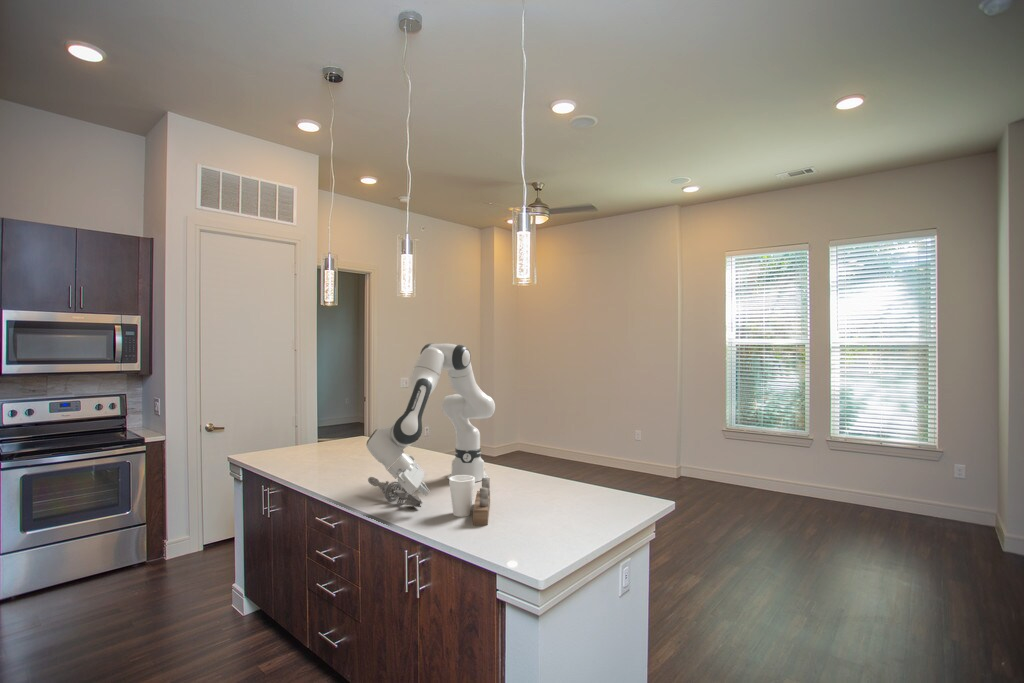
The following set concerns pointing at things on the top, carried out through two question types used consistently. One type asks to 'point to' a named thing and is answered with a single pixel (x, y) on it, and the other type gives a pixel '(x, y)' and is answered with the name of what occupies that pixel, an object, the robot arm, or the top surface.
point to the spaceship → (396, 492)
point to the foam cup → (462, 494)
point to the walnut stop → (482, 504)
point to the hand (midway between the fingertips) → (428, 493)
